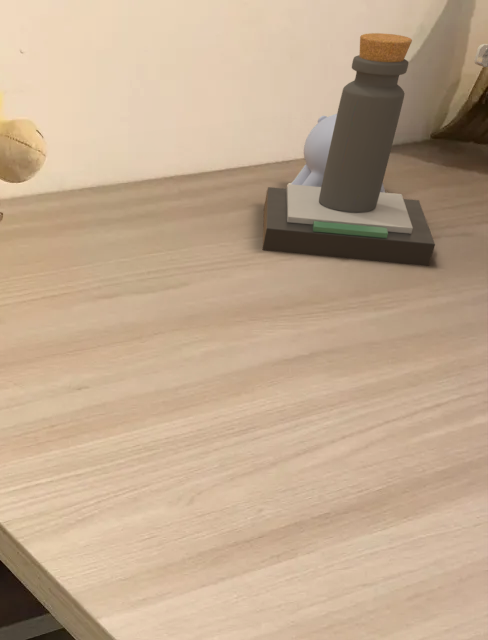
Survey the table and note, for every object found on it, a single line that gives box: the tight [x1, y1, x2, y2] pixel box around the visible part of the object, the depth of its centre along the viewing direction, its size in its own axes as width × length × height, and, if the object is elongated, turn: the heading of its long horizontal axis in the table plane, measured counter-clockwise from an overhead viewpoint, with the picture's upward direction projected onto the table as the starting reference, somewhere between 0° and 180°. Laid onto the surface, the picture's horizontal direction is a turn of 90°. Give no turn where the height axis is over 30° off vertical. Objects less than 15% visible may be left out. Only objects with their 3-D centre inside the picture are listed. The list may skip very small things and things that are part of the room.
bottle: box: [319, 32, 413, 212], centre depth 102 cm, size 6×6×15 cm
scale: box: [261, 183, 436, 267], centre depth 107 cm, size 16×15×3 cm
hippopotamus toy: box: [288, 113, 386, 193], centre depth 117 cm, size 11×15×10 cm
